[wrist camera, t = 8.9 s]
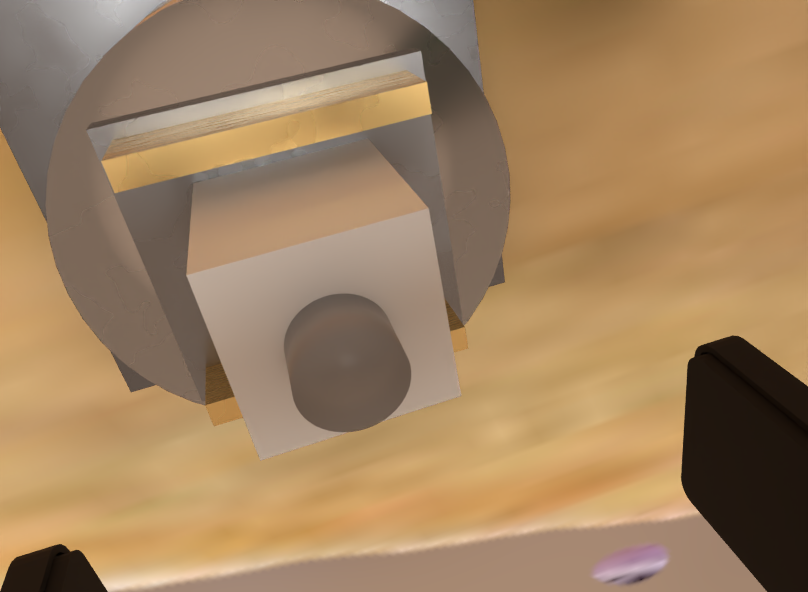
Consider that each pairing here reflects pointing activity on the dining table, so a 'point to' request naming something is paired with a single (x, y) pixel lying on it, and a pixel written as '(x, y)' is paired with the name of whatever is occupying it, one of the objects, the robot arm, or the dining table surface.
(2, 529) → the dining table surface
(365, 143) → the white block with knob
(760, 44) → the dining table surface
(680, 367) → the dining table surface
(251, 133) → the cylinder on square plate
